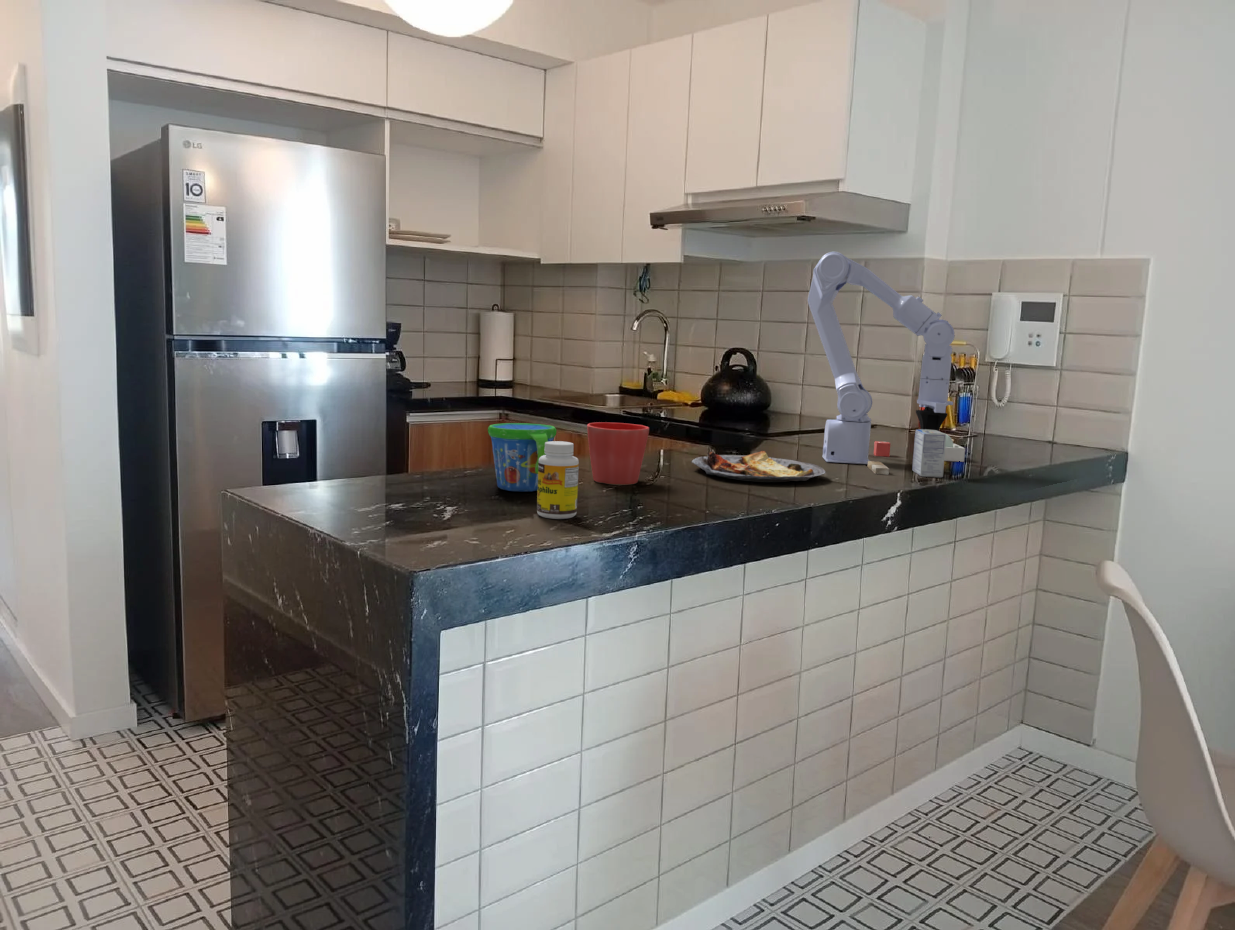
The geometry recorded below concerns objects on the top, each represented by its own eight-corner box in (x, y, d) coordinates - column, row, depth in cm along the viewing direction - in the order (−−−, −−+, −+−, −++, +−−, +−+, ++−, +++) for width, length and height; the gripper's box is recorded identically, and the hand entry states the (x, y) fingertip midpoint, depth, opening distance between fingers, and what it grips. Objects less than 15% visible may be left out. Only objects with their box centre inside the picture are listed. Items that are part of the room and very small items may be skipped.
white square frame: (923, 459, 206) (924, 446, 206) (914, 454, 215) (916, 441, 214) (963, 461, 205) (965, 448, 205) (953, 456, 214) (955, 443, 214)
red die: (875, 455, 209) (876, 442, 209) (873, 454, 212) (874, 440, 212) (889, 456, 209) (890, 443, 208) (886, 454, 212) (888, 441, 211)
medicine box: (943, 478, 180) (947, 434, 178) (919, 476, 180) (923, 432, 179) (933, 472, 187) (937, 429, 186) (911, 470, 188) (915, 428, 187)
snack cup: (474, 482, 152) (475, 420, 151) (534, 479, 157) (535, 420, 156) (505, 499, 139) (507, 432, 137) (570, 496, 143) (572, 431, 142)
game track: (875, 473, 181) (876, 467, 181) (867, 466, 191) (867, 461, 190) (888, 474, 181) (889, 468, 181) (879, 467, 190) (880, 461, 190)
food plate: (674, 464, 182) (675, 446, 181) (779, 464, 189) (781, 447, 189) (727, 490, 159) (729, 470, 158) (845, 489, 166) (847, 470, 165)
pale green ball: (929, 458, 208) (931, 433, 207) (923, 454, 213) (925, 430, 212) (954, 459, 207) (957, 434, 206) (948, 456, 213) (950, 432, 212)
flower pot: (659, 482, 160) (662, 427, 158) (616, 489, 152) (619, 430, 150) (615, 474, 167) (617, 420, 165) (571, 479, 159) (573, 423, 157)
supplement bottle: (528, 514, 128) (530, 441, 127) (558, 510, 132) (560, 439, 131) (554, 521, 124) (557, 446, 123) (585, 517, 128) (587, 444, 127)
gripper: (964, 382, 182) (957, 450, 184) (946, 378, 196) (939, 441, 198) (927, 380, 182) (920, 448, 185) (912, 376, 197) (905, 439, 199)
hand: (928, 444), depth 191 cm, fingers closed
